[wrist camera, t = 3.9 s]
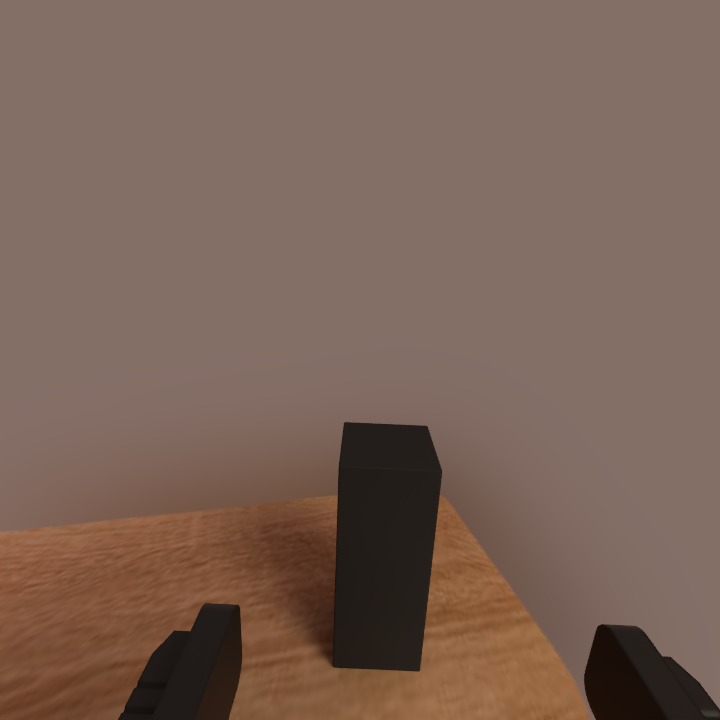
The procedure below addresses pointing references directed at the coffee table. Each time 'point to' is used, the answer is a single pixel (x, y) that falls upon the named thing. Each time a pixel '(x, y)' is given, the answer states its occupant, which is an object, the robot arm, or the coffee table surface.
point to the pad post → (384, 545)
